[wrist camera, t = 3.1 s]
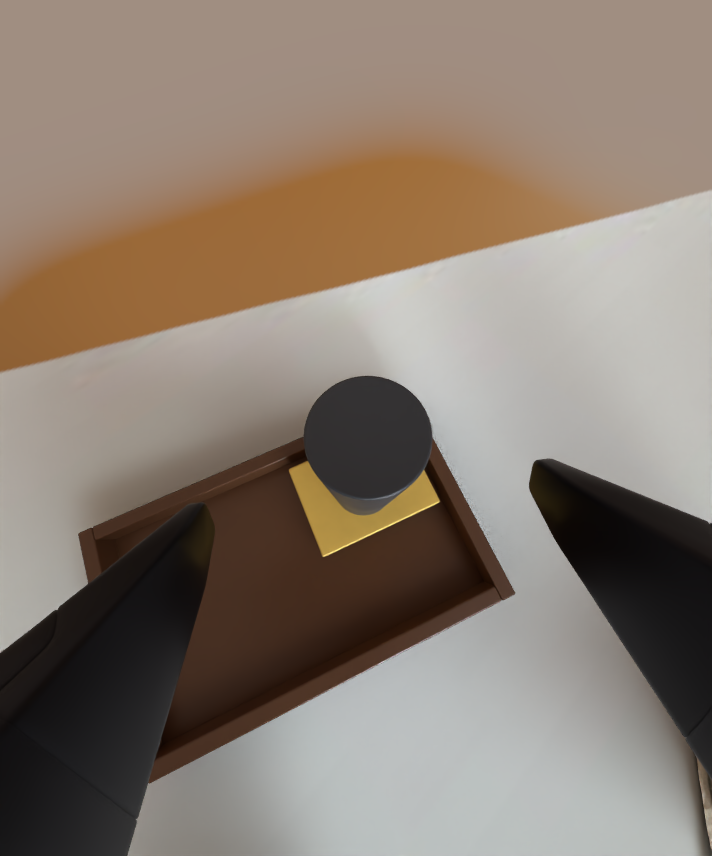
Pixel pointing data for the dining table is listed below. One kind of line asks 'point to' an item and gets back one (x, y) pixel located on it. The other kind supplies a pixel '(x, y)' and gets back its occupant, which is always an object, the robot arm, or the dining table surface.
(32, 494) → the dining table surface
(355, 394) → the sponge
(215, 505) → the tray
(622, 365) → the dining table surface
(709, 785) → the condiment
